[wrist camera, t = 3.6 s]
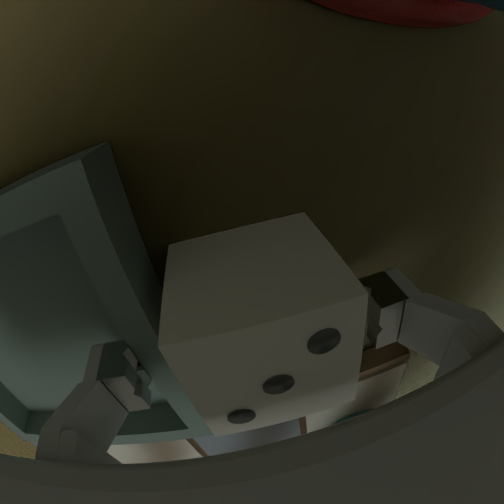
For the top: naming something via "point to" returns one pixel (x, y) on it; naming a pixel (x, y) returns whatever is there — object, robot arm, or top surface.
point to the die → (262, 324)
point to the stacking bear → (417, 11)
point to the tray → (79, 298)
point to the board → (367, 397)
